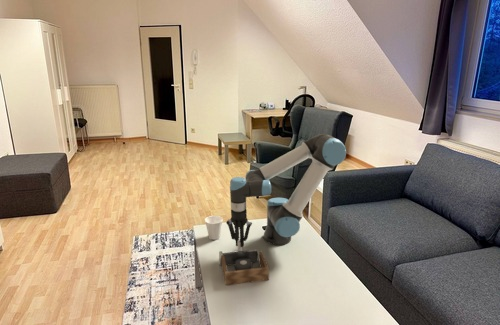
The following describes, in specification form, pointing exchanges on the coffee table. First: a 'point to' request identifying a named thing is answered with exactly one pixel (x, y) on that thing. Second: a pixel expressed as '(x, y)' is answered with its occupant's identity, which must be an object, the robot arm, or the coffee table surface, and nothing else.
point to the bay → (246, 273)
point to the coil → (243, 264)
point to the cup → (214, 226)
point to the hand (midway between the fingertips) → (240, 251)
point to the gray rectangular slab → (238, 256)
